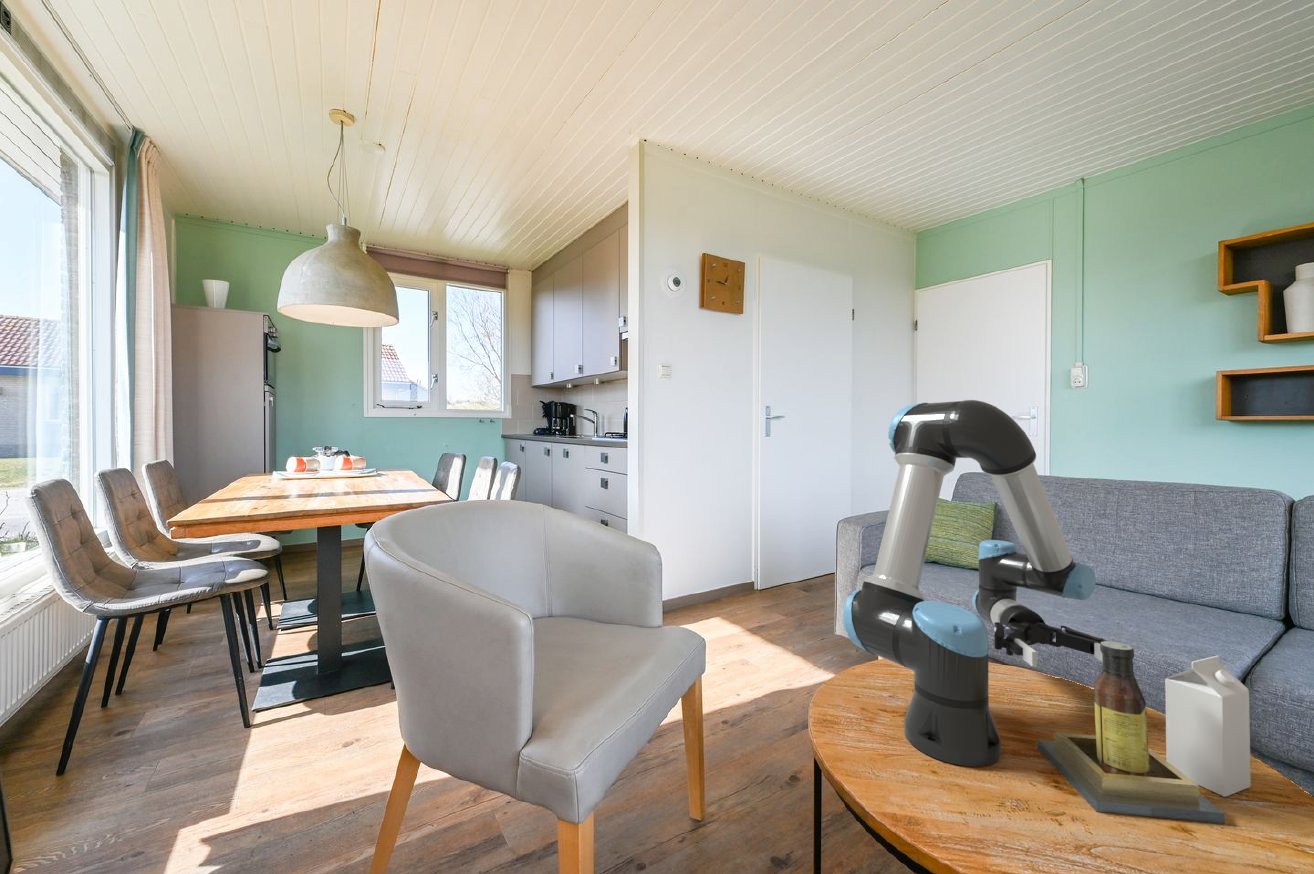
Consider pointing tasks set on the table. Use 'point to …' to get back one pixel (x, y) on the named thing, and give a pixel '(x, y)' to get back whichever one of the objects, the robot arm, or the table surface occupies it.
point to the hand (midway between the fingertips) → (1077, 661)
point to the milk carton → (1209, 727)
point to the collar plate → (1128, 783)
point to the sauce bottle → (1120, 714)
